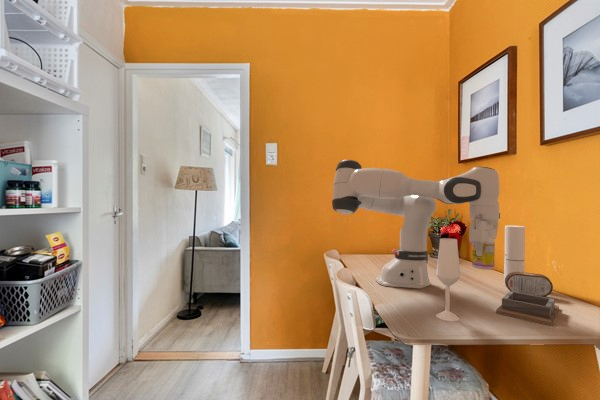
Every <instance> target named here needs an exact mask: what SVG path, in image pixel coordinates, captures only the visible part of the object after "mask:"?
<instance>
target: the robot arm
mask: <svg viewBox="0 0 600 400" xmlns="http://www.w3.org/2000/svg"><path fill="white" fill-rule="evenodd" d="M336 165H337V166H336V168H335V174H334V179H333V185H332V186H333V188H332V200H331V205H332V210H334V212H336V213H339V214H341V215H351V214H355V213H356V212H357V210H358V209H363V210H366V211H372V212H378V213H383V214H389V215H395V216H399V217H404V219H403V223H402V227H401V228H400V230H399V248H398V249H396V248H393V249H392V250H391V253H392V254H393V255H394V258H393V259H391V260H389V261H388V262H387V263H385V264H384V265H383V266H382V268H381V272H380V275H377V276H376V277H375V281H376V282H377V283H378V284H379V285H381V286H384V287H395V288H409V289H410V288H411V289H423V288H425V287H428V286H430V285H431V282H430V276H429V272H428V270H429V269H428V262H429V254H428V250H427V249H428V245H427V244H428V243H427V242H428V240H427V239H428V229H429V225H430V222H431V219H432V216H433V215H434V213H435V212H436V209H437V203H436V200H438V201H439V202H442V203H443V204H445V205H446V204H447V205H461V204H465V203H468V204H469V217H468V218H469V219H470V220H471V221H470V222H469V223H470V224H469V232H468V233H469V234H468V240H469V241H468V242H469V243H470V244H473V243H475V248H476V255H477V256H483V243H485V242H487V240H488V231H492V234H491V238H492V239H494V240H496V238H497V236H498V231H499V230H498V229H499V228H498V227H499V220H500V219H501V213H500V204H499V195H500V178H499V177H500V176H499V173H498V171H497V170H496V169H495V168H493V167H489V166H474V167H472V168H471V169H470V170H468V171H466V172H464V173H461V174H458V175H455V176H453V177H446V178H443V179H440V180H427V179H426V180H425V179H416V178H412V177H409V176H407V175H405V174H404V173H403V172H402V171H399V170H395V169H389V168H378V167H368V168H367V167H365V168H362V165H361V164H360V163H359V162H358V161H357V160H355V159H354V160H352V159H343V160H341V161H339V162H338V163H337V164H336ZM435 199H436V200H435Z"/></svg>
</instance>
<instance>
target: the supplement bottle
mask: <svg viewBox="0 0 600 400" xmlns="http://www.w3.org/2000/svg"><path fill="white" fill-rule="evenodd" d="M491 234H492V231H488V240H487V242H485V243H483V256H477V255H476V248H475V243H472V249H471V253H472V254H471V255H472V256H471V266H472V267H473V268H474V269H478V270H487V271H488V270H493V269H494V268H495V250H496V249H495V248H496V247H495V246H496V241H495V239H492V238H491Z"/></svg>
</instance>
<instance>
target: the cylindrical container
mask: <svg viewBox="0 0 600 400" xmlns="http://www.w3.org/2000/svg"><path fill="white" fill-rule="evenodd" d="M525 241H526V226H524V225H523V226H522V225H509V224H508V225H505V226H504V261H503V262H504V264H503V265H504V266H503V267H504V269H503V283H504V285H505V278H506V276H507V275H508V274H509V273H512V272H524V273H525V252H526V251H525V247H526V245H525V244H526V242H525Z"/></svg>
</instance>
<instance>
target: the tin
mask: <svg viewBox="0 0 600 400" xmlns="http://www.w3.org/2000/svg"><path fill="white" fill-rule="evenodd" d="M504 285H505V287H506V288H507V290H509V292H510V291H513V292H519V293H525V294H530V295H536V296H541V297H547V296H549V295H551V293H552V292H553V290H554V286H553V283H552V281H551V279H550V278H549V277H547V276H546V275H544V274H541V273H531V272H525V271H524V272H512V273H509V274H508V275H507V276H506V278H505V284H504Z"/></svg>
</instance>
